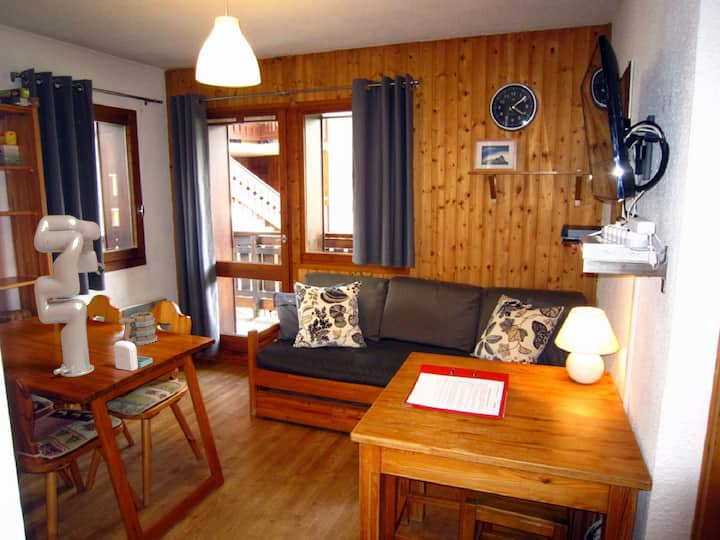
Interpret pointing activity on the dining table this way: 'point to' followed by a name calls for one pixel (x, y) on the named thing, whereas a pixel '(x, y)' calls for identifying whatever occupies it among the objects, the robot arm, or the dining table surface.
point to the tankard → (140, 328)
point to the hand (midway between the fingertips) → (87, 283)
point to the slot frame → (145, 361)
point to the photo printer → (125, 355)
